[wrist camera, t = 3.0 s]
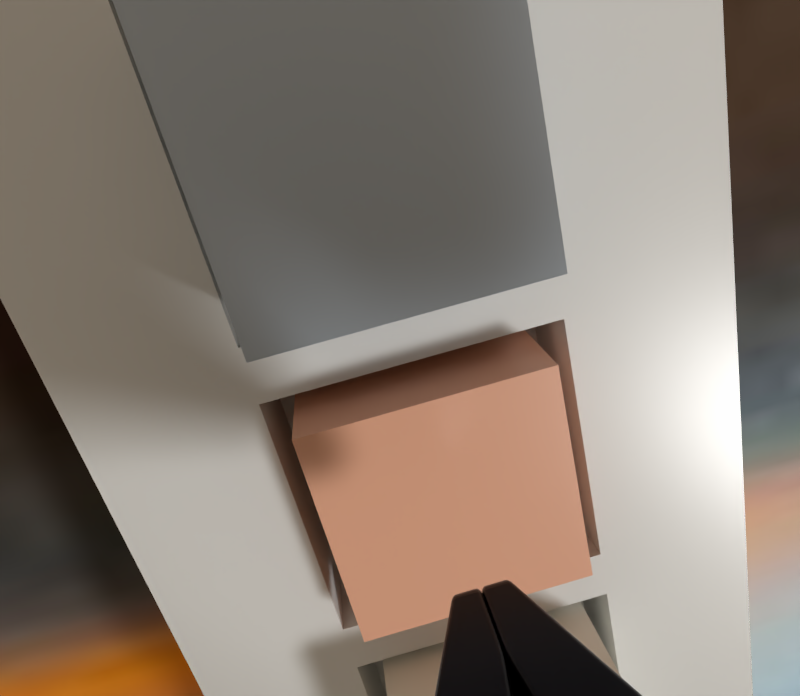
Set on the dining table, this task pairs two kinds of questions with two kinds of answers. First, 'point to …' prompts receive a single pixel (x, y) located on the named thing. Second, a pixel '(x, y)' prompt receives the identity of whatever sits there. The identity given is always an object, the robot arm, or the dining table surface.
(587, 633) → the key cream
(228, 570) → the keypad
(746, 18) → the dining table surface
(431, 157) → the key slate
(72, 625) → the dining table surface
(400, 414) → the key terracotta
